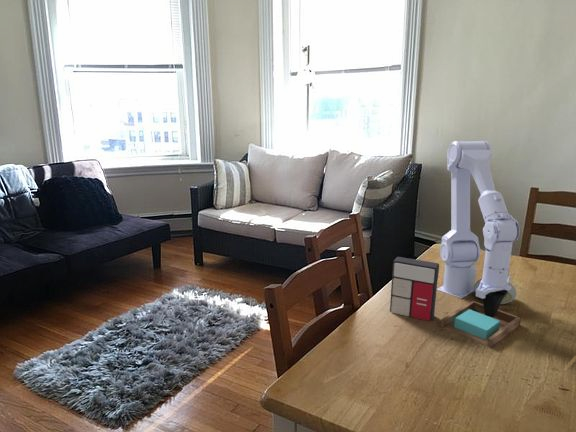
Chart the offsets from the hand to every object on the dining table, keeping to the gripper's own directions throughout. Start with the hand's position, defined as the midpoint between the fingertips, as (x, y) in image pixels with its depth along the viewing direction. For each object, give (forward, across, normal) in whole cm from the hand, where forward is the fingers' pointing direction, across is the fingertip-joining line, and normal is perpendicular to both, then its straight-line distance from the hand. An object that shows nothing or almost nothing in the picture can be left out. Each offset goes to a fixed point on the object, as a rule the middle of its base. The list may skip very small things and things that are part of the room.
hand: (489, 315), depth 114 cm
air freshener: (+2, +13, +5) cm, 14 cm away
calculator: (+2, -12, +15) cm, 19 cm away
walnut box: (+2, -5, 0) cm, 5 cm away
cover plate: (+1, -7, 0) cm, 7 cm away
